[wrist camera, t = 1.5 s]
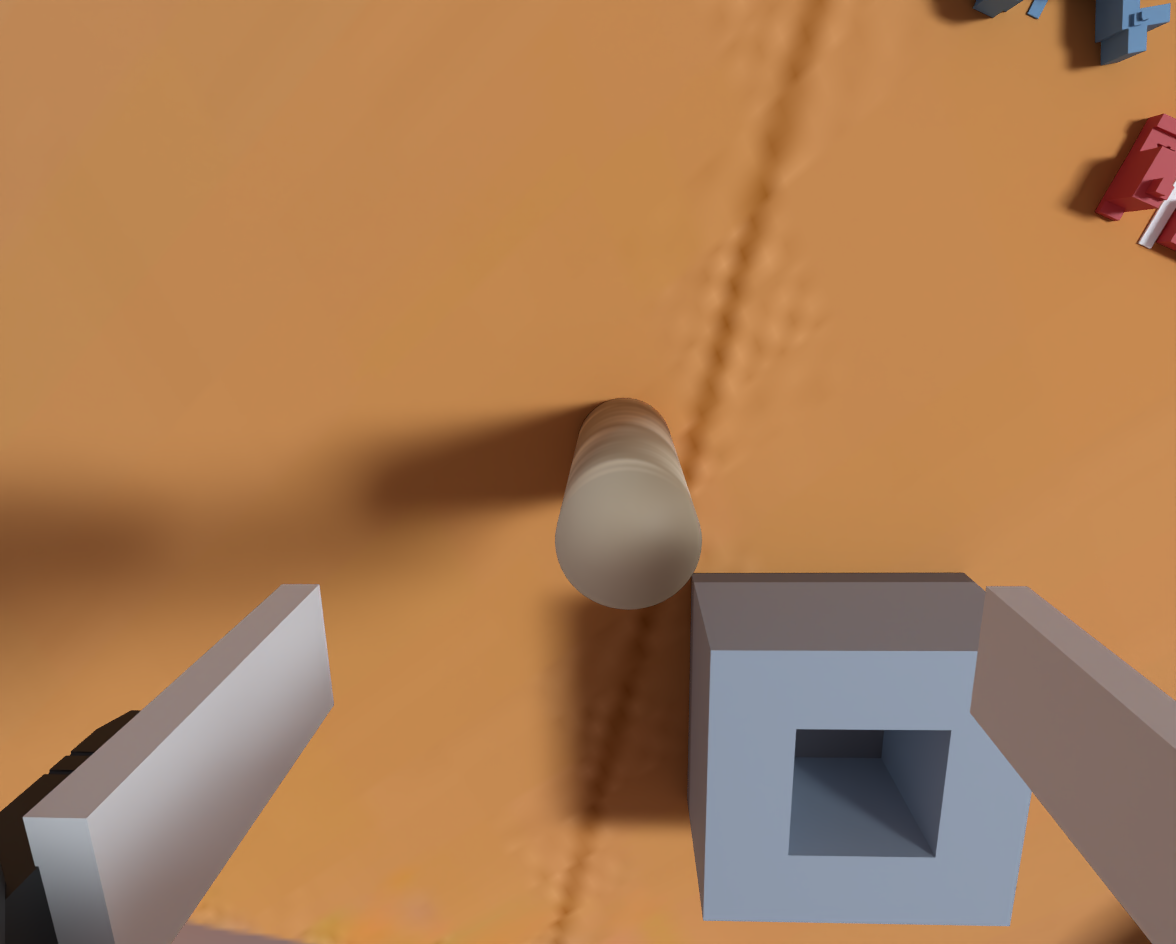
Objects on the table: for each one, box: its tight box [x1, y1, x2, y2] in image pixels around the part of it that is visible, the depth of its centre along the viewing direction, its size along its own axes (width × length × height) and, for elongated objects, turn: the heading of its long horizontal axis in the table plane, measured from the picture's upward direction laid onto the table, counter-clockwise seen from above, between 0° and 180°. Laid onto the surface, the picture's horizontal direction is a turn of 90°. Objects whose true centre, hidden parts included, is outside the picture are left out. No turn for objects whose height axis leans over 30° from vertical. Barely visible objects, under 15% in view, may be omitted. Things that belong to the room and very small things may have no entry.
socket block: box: [687, 573, 1032, 926], centre depth 31 cm, size 12×12×7 cm
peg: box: [555, 398, 702, 610], centre depth 26 cm, size 4×4×12 cm
